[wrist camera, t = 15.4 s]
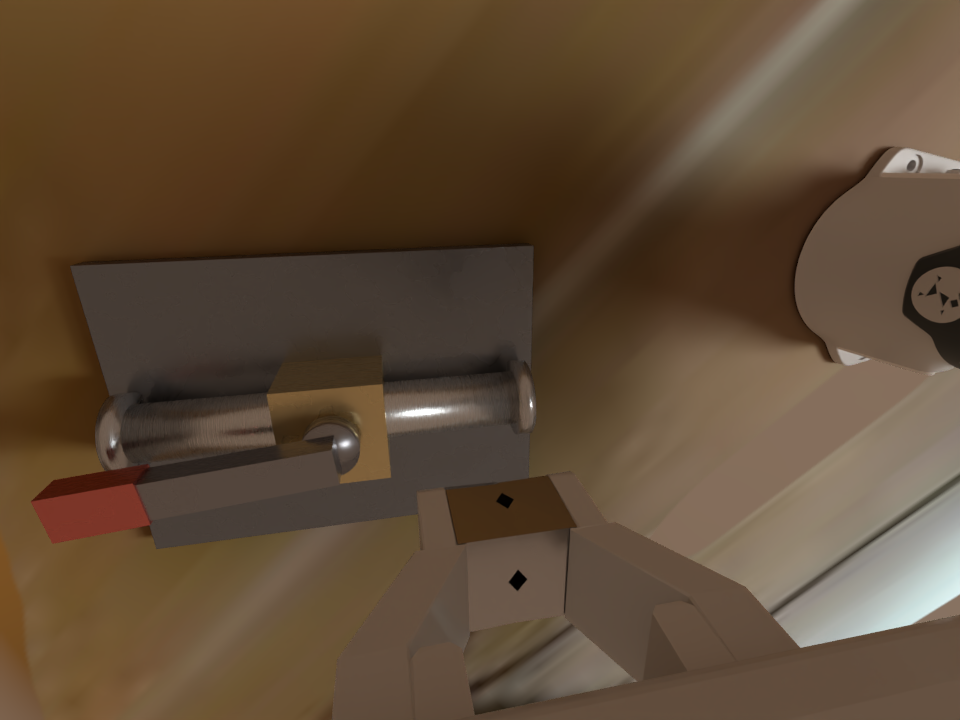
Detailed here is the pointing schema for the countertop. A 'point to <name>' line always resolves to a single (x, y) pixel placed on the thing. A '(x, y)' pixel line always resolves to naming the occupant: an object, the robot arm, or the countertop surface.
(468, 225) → the countertop surface
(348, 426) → the lever
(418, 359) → the valve assembly
